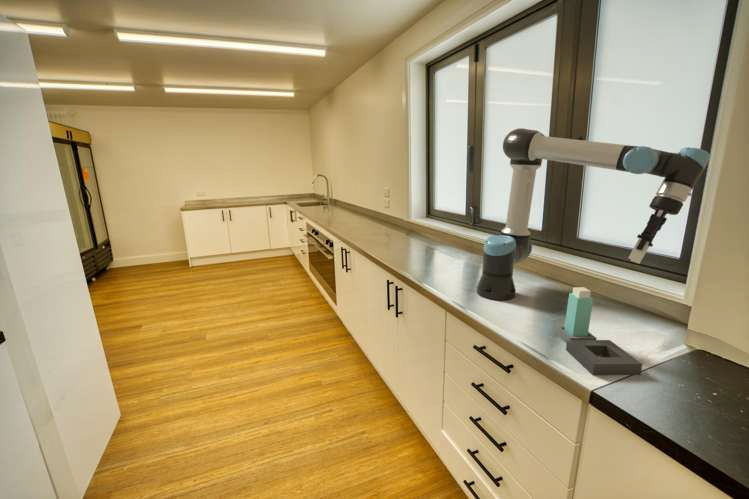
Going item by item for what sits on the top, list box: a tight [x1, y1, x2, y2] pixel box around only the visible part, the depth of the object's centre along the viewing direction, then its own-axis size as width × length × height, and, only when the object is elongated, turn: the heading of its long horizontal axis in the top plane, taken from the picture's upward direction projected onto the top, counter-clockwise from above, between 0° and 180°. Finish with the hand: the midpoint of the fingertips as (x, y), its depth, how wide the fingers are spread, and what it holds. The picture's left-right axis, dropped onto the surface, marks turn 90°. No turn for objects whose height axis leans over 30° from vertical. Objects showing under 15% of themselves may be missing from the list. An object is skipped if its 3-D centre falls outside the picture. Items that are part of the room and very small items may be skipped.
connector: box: [564, 286, 594, 337], centre depth 101 cm, size 4×4×16 cm
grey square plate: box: [555, 325, 597, 345], centre depth 102 cm, size 8×8×2 cm
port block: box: [565, 339, 643, 376], centre depth 91 cm, size 12×12×3 cm
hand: (633, 261), depth 110 cm, fingers open, 13 cm apart
